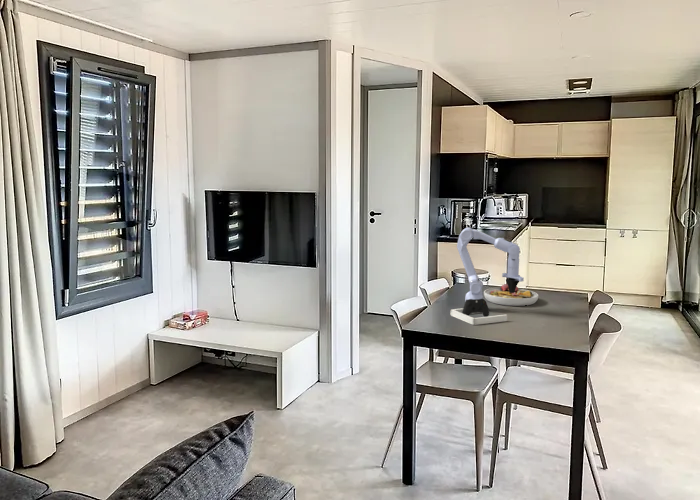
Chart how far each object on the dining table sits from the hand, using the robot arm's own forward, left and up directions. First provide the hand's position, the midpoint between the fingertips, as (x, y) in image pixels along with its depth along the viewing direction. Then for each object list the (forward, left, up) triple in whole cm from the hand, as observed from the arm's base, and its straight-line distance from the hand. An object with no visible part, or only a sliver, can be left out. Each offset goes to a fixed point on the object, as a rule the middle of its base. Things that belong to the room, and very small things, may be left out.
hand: (512, 292), depth 291 cm
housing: (+4, -24, -10) cm, 26 cm away
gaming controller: (+3, -25, -11) cm, 28 cm away
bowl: (-21, +17, -11) cm, 29 cm away
